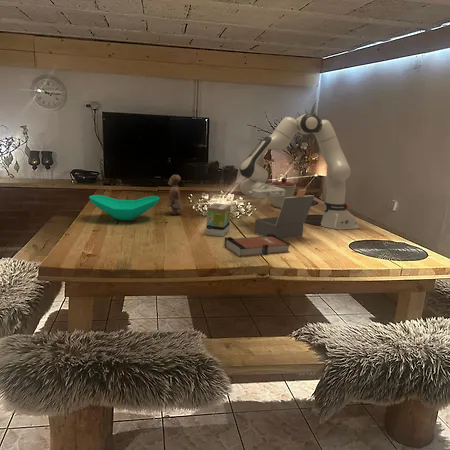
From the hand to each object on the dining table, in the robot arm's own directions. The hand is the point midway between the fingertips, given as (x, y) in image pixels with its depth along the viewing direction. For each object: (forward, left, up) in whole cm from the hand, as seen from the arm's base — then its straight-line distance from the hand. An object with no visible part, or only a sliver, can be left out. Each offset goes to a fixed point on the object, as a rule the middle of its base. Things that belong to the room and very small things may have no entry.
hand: (278, 195), depth 233 cm
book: (+17, +28, -22) cm, 40 cm away
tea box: (+31, -4, -22) cm, 38 cm away
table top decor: (+81, -34, -22) cm, 90 cm away
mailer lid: (-6, +12, -4) cm, 14 cm away
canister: (-27, -76, -22) cm, 83 cm away
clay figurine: (+51, -49, -22) cm, 74 cm away
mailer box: (-1, +2, -21) cm, 22 cm away
